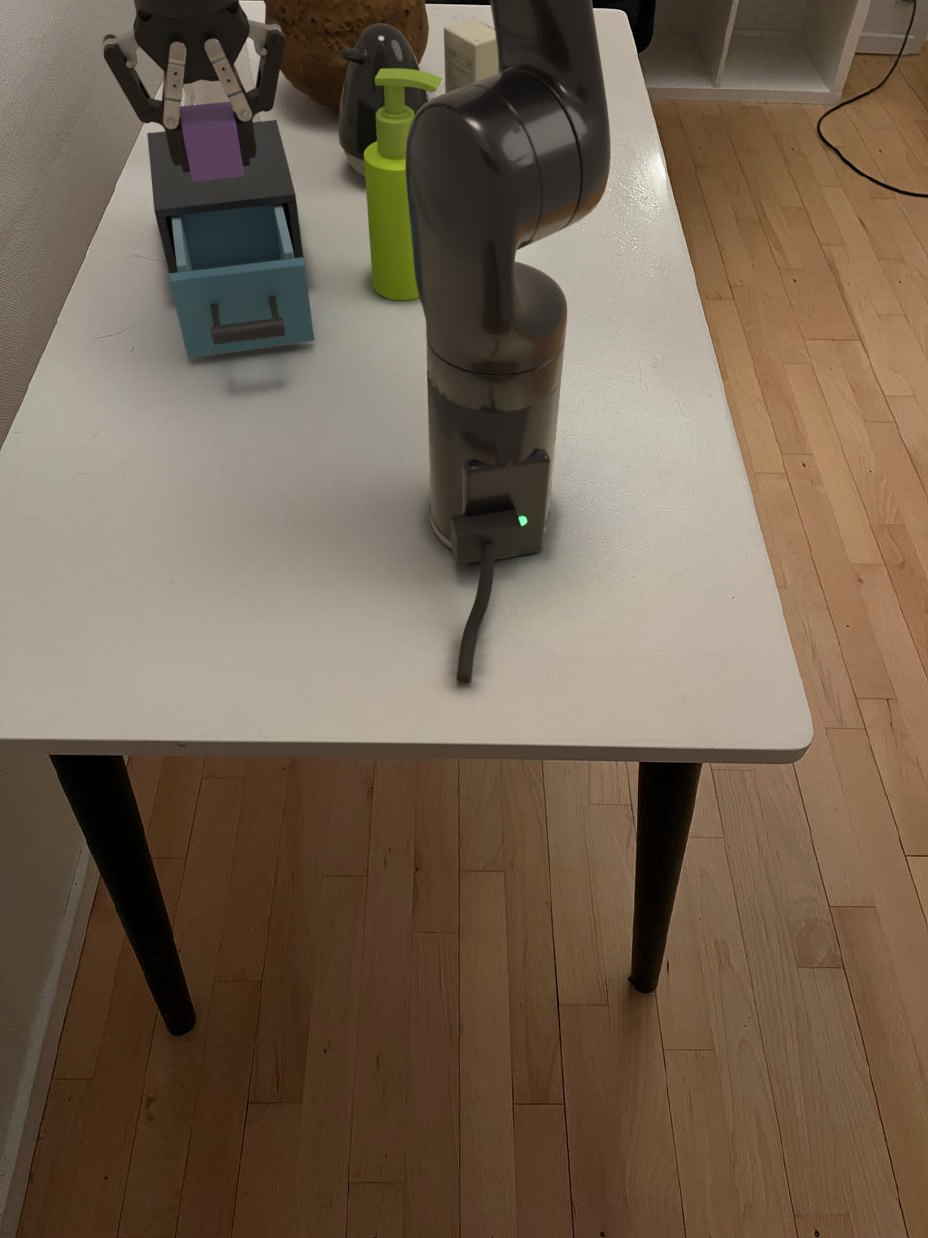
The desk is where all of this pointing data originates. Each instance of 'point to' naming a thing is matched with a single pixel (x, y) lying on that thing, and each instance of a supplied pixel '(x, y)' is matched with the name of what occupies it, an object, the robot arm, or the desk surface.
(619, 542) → the desk surface
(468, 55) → the cosmetic box
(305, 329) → the drawer
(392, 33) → the black penguin figurine
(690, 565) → the desk surface
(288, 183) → the dark grey box
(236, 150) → the lilac foam cube
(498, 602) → the desk surface
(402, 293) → the soap dispenser
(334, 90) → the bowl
